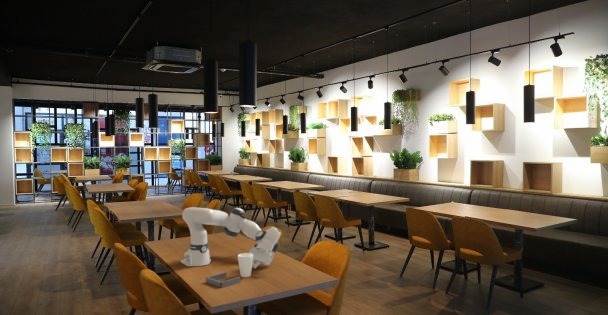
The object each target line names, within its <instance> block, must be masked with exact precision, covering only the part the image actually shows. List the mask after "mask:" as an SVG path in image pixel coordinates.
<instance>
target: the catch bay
mask: <svg viewBox="0 0 608 315" xmlns="http://www.w3.org/2000/svg"><path fill="white" fill-rule="evenodd" d="M225 278H227V272H226V271H224V272H220V273H217V274H213V275H210V276H206V277H205V282H206V283H207V284H210V285H211V286H215V287H217V288H220V289H222V288H225V287H228V286H231V285H236V284H239V283H241V276H237V277H234V278H229V279H227V280H224V281H219V280H221V279H225Z"/></svg>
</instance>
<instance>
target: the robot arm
mask: <svg viewBox="0 0 608 315" xmlns="http://www.w3.org/2000/svg"><path fill="white" fill-rule="evenodd" d="M181 215H182V216H181V217H182V220H184V222H185V223H186V226H188V230H189V233H190V243H189V244H188V245H189V249H188V250H187V251H186V252H184V255H183V258H182V259H180V263H181V264H183V265H185V266H186V267H201V266H206V265H209V264H210V263H211V262H212V259H211V256H210V255H211V254H210V250H209V242H208V232H207V229H205V228H204V226H203V225H209V226H210V225H211V226H221V227H223V229H222V230H224V233H225V234H226V235H227V236H228V237H230V238H238V235H239V234H240V231H242V233H243V234H244V235H246V236H247V237H248V238H250V239H252V240H254V241H256V243H254V244H253V245H252V247H251V248H250V249H249V250H248V253H251V254H253V261H252V269H257V267H258V266H259V265H260V264H263V265H265V266H270V265H271V263H272V261H273V259H274V256H275V254H276V253H277V252H278V251H279V249H280V241H279V239H280V236H281V235H282V234H281V231H280V230H279V228H277V227H275V226H271V227H269V229H262V228H260V226H259V225H258V224H257V223H256V221H252V220H251V219H250V220H249V219H247V217H248V215H247V213H246V211H245V210H244V209H242V208H240V207H233V208H232V210H231V212H230V215H229V214H228V213H227V212H225V211H222V210H219V209H218V210H217V209H212V208H208V207H198V206H197V207H195V206H193V207H192V206H191V207H187V208H186V207H185V208H184V209H183V212H182V214H181Z"/></svg>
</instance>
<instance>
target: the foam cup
mask: <svg viewBox="0 0 608 315" xmlns="http://www.w3.org/2000/svg"><path fill="white" fill-rule="evenodd" d="M237 261H238V267H239V275H240V278H241V277H242V278H248V277H249V278H250V277H251V275H252V269H253V268H252V263H253V254H251V253H249V252H244V253H239V254H238V255H237Z"/></svg>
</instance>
